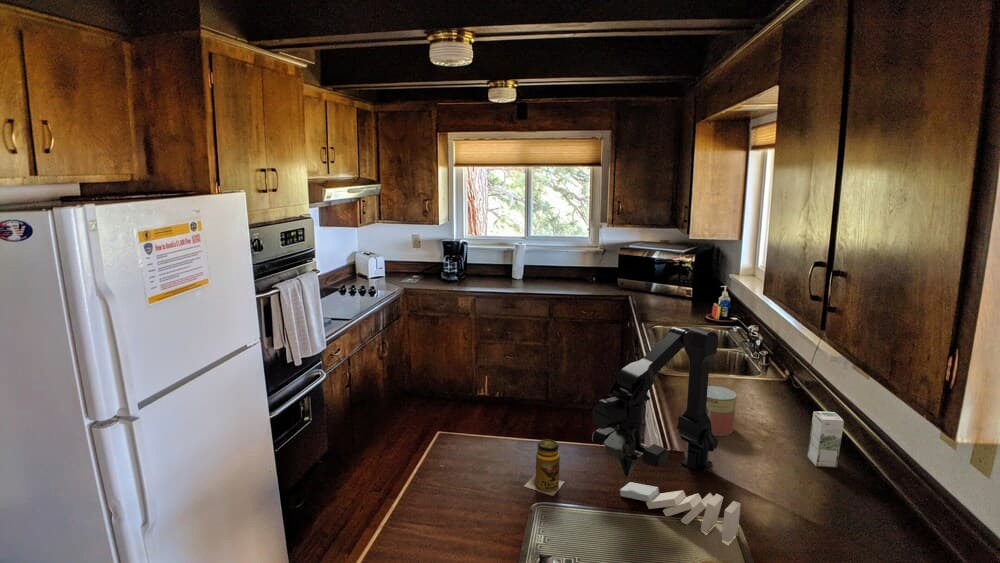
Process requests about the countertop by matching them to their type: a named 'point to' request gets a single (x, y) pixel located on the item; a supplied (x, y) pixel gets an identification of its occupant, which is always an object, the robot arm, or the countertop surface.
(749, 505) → the countertop surface
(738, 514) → the domino
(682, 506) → the domino
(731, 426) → the canned food
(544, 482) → the condiment
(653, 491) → the domino
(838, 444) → the syrup box
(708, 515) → the domino
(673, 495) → the domino
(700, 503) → the domino
